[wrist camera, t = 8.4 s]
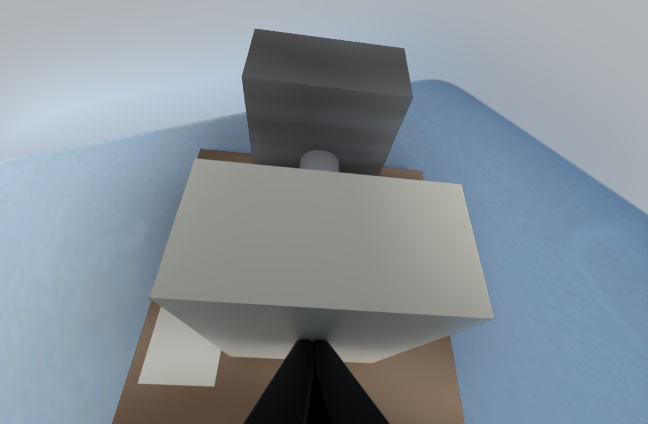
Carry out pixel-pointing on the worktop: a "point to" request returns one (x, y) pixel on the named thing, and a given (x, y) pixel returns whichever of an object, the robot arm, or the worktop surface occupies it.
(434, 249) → the cream eraser-shaped block
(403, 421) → the board
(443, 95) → the worktop surface
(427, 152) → the worktop surface
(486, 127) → the worktop surface
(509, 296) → the worktop surface
